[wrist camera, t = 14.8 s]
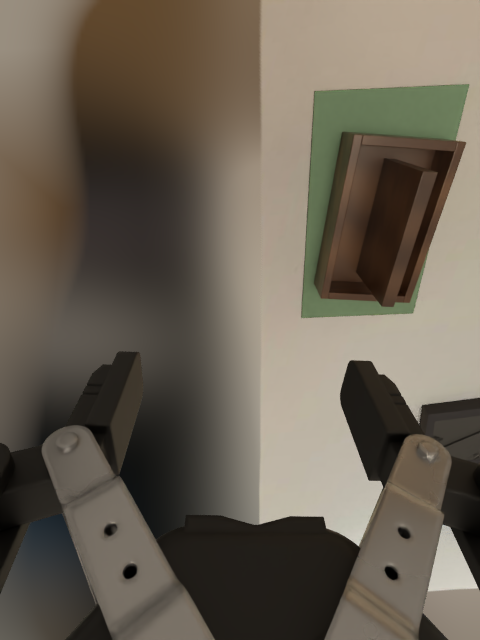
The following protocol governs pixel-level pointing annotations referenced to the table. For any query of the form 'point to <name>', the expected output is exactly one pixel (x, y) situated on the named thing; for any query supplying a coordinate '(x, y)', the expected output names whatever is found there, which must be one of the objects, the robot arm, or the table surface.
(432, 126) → the mat
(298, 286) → the table surface
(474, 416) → the picture frame
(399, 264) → the cutlery caddy
